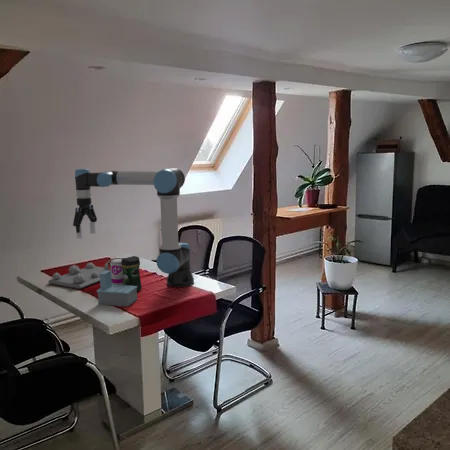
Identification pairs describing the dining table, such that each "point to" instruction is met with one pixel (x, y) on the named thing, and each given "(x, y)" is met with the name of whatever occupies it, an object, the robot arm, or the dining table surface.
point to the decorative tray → (79, 276)
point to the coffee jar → (131, 271)
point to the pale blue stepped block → (109, 288)
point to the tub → (117, 298)
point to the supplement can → (116, 272)
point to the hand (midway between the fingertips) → (86, 235)
